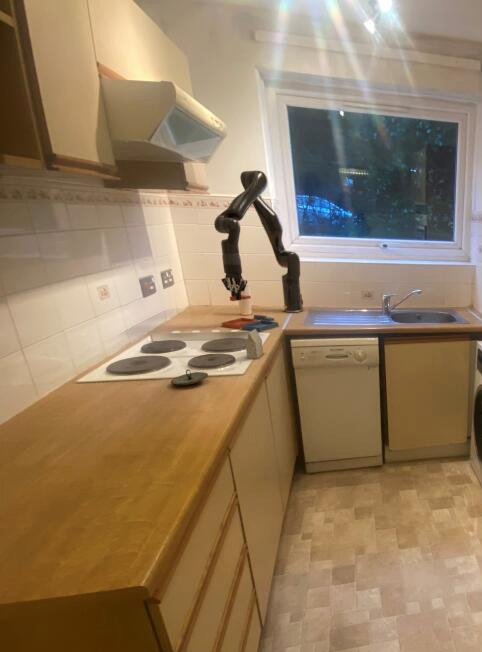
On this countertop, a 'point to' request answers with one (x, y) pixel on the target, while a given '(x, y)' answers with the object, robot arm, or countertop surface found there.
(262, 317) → the slate spoon
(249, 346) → the grey stone block
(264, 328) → the slate tray
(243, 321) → the terracotta tray
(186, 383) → the lid
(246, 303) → the drinking glass
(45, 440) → the countertop surface
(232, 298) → the terracotta spoon
